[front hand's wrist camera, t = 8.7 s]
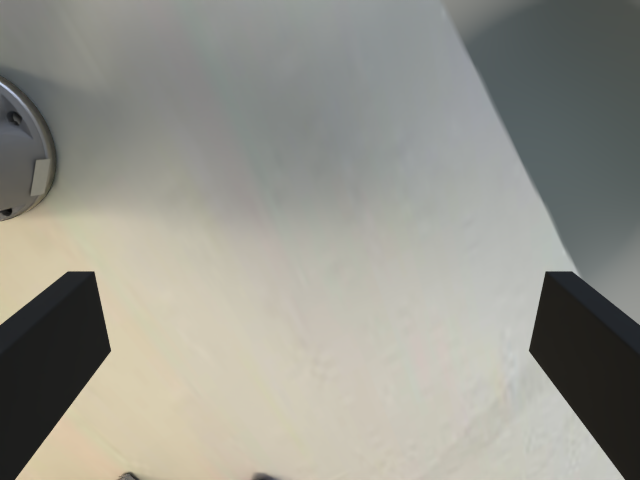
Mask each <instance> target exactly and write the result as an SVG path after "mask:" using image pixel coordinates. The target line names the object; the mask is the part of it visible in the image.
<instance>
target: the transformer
mask: <svg viewBox="0 0 640 480" xmlns="http://www.w3.org/2000/svg"><path fill="white" fill-rule="evenodd" d="M120 477H123V478H122V479H120V480H135V479H134V478H133V477H132V476H131V475H130V474H125V475H122V476H120Z"/></svg>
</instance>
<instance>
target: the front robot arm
mask: <svg viewBox="0 0 640 480" xmlns="http://www.w3.org/2000/svg"><path fill="white" fill-rule="evenodd" d="M55 169H56V154H55V147H54V143H53V139H52V136H51V133H50V131H49V128H48V126H47V124H46V122H45V120H44V118H43V117H42V115H41V114H40V112H39V111H38V109H37V108H36V107H35V105H34V104H33V103H32V102H31V101H30V99H29V98H28V97H27V96H26V95H25V94H24V93H23V92H22V91H21V90H19V89H18V88H17V87H16V86H15V85H13V84H12V83H10V82H9V81H8V80H6V79H4V78H3V77H1V76H0V221H4V220H8V219H11V218H13V217H16V216H18V215H20V214H22V213H24V212H26V211H28V210H30V209H32V208H33V207H35V206H36V205H37V204H38V203H39V202H40V201H41V200H42V199H43V198H44V197H45V196H46V194H47V193H48V191H49V189H50V187H51V185H52V182H53V179H54V175H55ZM110 352H111V348H110V344H109V339H108V334H107V329H106V325H105V320H104V315H103V311H102V306H101V301H100V296H99V292H98V287H97V282H96V277H95V273H94V272H67V273H65V274H64V275H63V276H62V277H60V278H59V279H58V280H57V281H55V282H54V283H53V284H52V285H50V286H49V287H48V288H47V289H45V290H44V291H43V292H42V293H40V294H39V295H38V296H36V297H35V298H34V299H33V300H31V301H30V302H29V303H28V304H26V305H25V306H24V307H23V308H21V309H20V310H19V311H18V312H16V313H15V314H14V315H13V316H11V317H10V318H9V319H8V320H6V321H5V322H4V323H3V324H1V325H0V480H15V479H16V477H17V476H18V475H19V473H20V472H21V471H22V469H23V468H24V467H25V465H26V464H27V463H28V461H29V460H30V459H31V457H32V456H33V455H34V453H35V452H36V451H37V449H38V448H39V447H40V445H41V444H42V443H43V441H44V440H45V439H46V437H47V436H48V435H49V433H50V432H51V431H52V429H53V428H54V427H55V425H56V424H57V423H58V421H59V420H60V419H61V417H62V416H63V415H64V413H65V412H66V411H67V409H68V408H69V407H70V405H71V404H72V403H73V401H74V400H75V398H76V397H77V396H78V394H79V393H80V392H81V390H82V389H83V388H84V386H85V385H86V384H87V382H88V381H89V380H90V378H91V377H92V376H93V374H94V373H95V372H96V370H97V369H98V368H99V366H100V365H101V364H102V362H103V361H104V360H105V358H106V357H107V356H108V354H109V353H110ZM529 352H530V353H531V354H532V356H533V357H534V358H535V360H536V361H537V362H538V364H539V365H540V366H541V368H542V369H543V370H544V372H545V373H546V374H547V376H548V377H549V378H550V380H551V381H552V382H553V384H554V385H555V386H556V388H557V389H558V390H559V392H560V393H561V394H562V396H563V397H564V399H565V400H566V401H567V403H568V404H569V405H570V407H571V408H572V409H573V411H574V412H575V413H576V415H577V416H578V417H579V419H580V420H581V421H582V423H583V424H584V425H585V427H586V428H587V429H588V431H589V432H590V433H591V435H592V436H593V437H594V439H595V440H596V441H597V443H598V444H599V445H600V447H601V448H602V449H603V451H604V452H605V453H606V455H607V456H608V457H609V459H610V460H611V461H612V463H613V464H614V465H615V467H616V468H617V469H618V471H619V472H620V473H621V475H622V476H623V477H624V479H625V480H640V325H639V324H637V323H636V322H635V321H634V320H632V319H631V318H630V317H629V316H627V315H626V314H625V313H624V312H622V311H621V310H620V309H619V308H617V307H616V306H615V305H614V304H612V303H611V302H610V301H609V300H607V299H606V298H605V297H604V296H602V295H601V294H600V293H598V292H597V291H596V290H595V289H593V288H592V287H591V286H590V285H588V284H587V283H586V282H585V281H583V280H582V279H581V278H580V277H578V276H577V275H576V274H575V273H573V272H546V273H545V277H544V282H543V287H542V292H541V296H540V301H539V306H538V311H537V315H536V320H535V325H534V329H533V334H532V339H531V344H530V348H529Z"/></svg>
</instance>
